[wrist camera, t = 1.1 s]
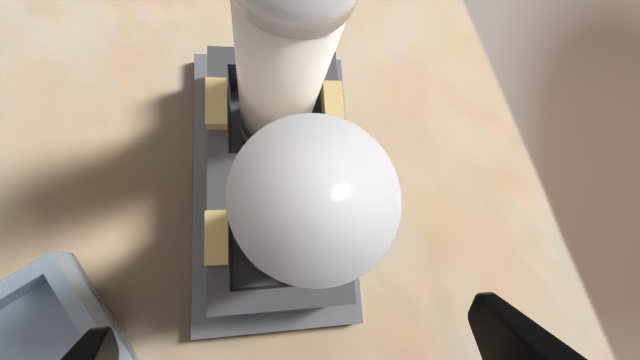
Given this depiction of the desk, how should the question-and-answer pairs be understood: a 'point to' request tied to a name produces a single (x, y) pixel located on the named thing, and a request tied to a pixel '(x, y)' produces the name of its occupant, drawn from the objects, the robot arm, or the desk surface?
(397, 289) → the desk surface
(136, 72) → the desk surface
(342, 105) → the block
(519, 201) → the desk surface
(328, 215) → the white round-topped piece
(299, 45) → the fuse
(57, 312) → the tray
